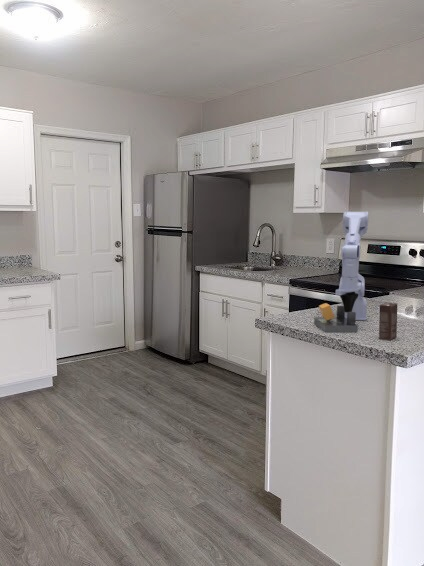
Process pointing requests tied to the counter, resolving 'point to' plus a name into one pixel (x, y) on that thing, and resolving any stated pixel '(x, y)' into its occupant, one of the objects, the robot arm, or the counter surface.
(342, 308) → the post
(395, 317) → the box
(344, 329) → the grey flat block
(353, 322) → the post
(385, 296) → the counter surface
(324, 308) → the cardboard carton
